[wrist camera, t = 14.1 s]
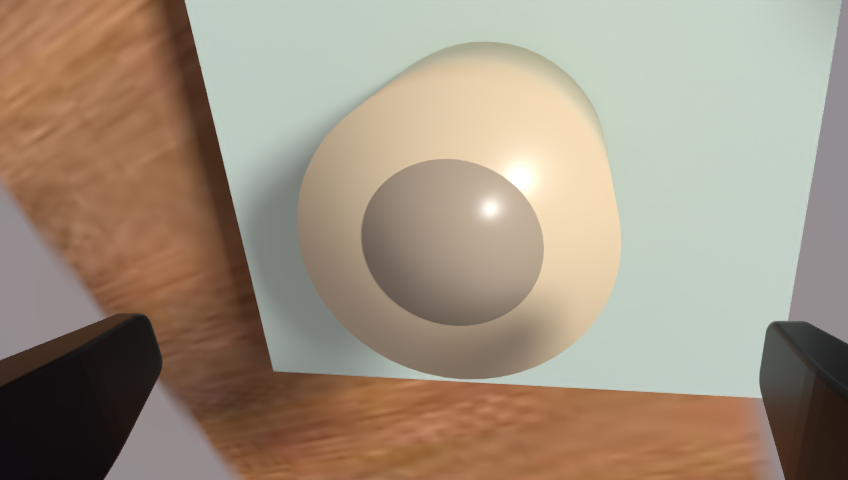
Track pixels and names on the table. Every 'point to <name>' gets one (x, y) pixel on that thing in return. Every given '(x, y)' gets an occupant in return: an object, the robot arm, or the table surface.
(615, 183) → the lid
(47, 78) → the table surface
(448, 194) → the cream dome knob
